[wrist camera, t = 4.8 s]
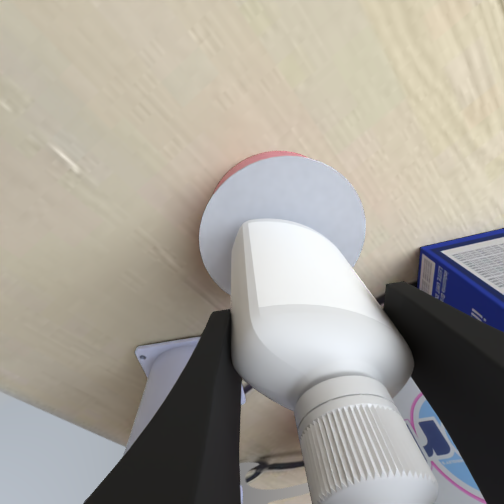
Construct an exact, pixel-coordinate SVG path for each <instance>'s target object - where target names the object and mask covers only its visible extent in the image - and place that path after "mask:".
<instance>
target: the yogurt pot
mask: <svg viewBox="0 0 504 504" xmlns="http://www.w3.org/2000/svg"><path fill="white" fill-rule="evenodd" d="M264 218H270V219H282V220H288V221H293V222H296V223H299V224H302V225H305V226H307V227H309V228H311V229H313V230H315V231H317V232H319V233H320V234H322V235H323V236H325V237H326V238H327V239H328V240H330V241H331V242H332V243H333V244H334V245H335V246H336V247H337V248H338V249H339V251H340V252H341V253H342V255H343V256H344V257H345V259H346V260H347V261H348V263H349V264H350V265H351V267H352V268H353V267H354V265H355V263H356V261H357V259H358V257H359V255H360V253H361V250H362V247H363V243H364V239H365V231H366V221H365V214H364V209H363V206H362V203H361V200H360V198H359V196H358V194H357V192H356V190H355V189H354V188H353V186H352V185H351V184H350V182H349V181H348V180H347V179H346V178H345V177H344V176H343V175H342V174H340V173H339V172H338V171H336V170H335V169H333V168H332V167H330V166H328V165H326V164H324V163H322V162H320V161H317V160H314V159H311V158H307V157H305V156H303V155H300V154H297V153H292V152H287V151H272V152H265V153H261V154H257V155H254V156H252V157H249V158H247V159H245V160H243V161H241V162H240V163H238V164H237V165H236V166H234V167H233V168H232V169H230V170H229V171H228V172H227V173H226V174H225V175H224V177H223V178H222V179H221V181H220V182H219V183H218V185H217V187H216V188H215V190H214V192H213V195H212V197H211V199H210V201H209V202H208V204H207V206H206V208H205V211H204V213H203V216H202V220H201V224H200V230H199V248H200V253H201V257H202V260H203V263H204V266H205V267H206V269H207V271H208V273H209V275H210V276H211V277H212V279H213V280H214V282H215V283H216V284H217V285H218V286H219V287H220V288H221V289H222V290H224V291H225V292H226V293H227V294H229V295H230V296H231V252H232V248H233V244H234V241H235V239H236V236H237V233H238V230H239V228H240V227H241V225H242V224H243V223H244V222H246V221H248V220H252V219H264Z"/></svg>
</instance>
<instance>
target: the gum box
mask: <svg viewBox="0 0 504 504" xmlns="http://www.w3.org/2000/svg"><path fill="white" fill-rule="evenodd" d="M392 400H393V401H394V403H395V405H396V407H397V409H398V411H399V412H400V414H401V416H402V418H403V420H404V422H405V423H406V425H407V427H408V429H409V431H410V433H411V434H412V436H413V438H414V440H415V442H416V444H417V445H418V447H419V449H420V451H421V453H422V454H423V456H424V458H425V460H426V462H427V464H428V465H429V467H430V469H431V471H432V473H433V475H434V476H435V478H436V480H437V483H438V495H437V498H436V500H435V502H434V503H433V504H487V503H486V501H485V499H484V497H483V496H482V494H481V492H480V490H479V488H478V486H477V484H476V482H475V481H474V479H473V477H472V475H471V473H470V471H469V469H468V468H467V466H466V464H465V462H464V460H463V459H462V457H461V455H460V453H459V451H458V450H457V448H456V446H455V444H454V443H453V441H452V439H451V437H450V435H449V434H448V432H447V430H446V429H445V427H444V426H443V424H442V422H441V421H440V419H439V418H438V416H437V415H436V413H435V412H434V410H433V409H432V407H431V406H430V404H429V403H428V401H427V400H426V398H425V397H424V395H423V394H422V392H421V391H420V390H419V388H418V387H417V385H416V384H415V382H414V381H413V379H412V378H411V377H410V379H409V380H408V382H407V383H406V385H405V386H404V387H403V388H402V389H401V391H400V392H399V393H398V394H397V395H396V396H395V397H394V398H392Z"/></svg>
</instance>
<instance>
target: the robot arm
mask: <svg viewBox="0 0 504 504" xmlns="http://www.w3.org/2000/svg"><path fill="white" fill-rule="evenodd" d="M384 311H385V313H386V314H387V315H388V317H389V318H390V320H391V321H392V322H393V324H394V325H395V327H396V328H397V330H398V331H399V332H400V334H401V335H402V337H403V338H404V340H405V341H406V343H407V344H408V346H409V348H410V350H411V352H412V356H413V359H414V369H413V372H412V374H411V378H412V379H413V381H414V382H415V384H416V385H417V387H418V388H419V390H420V391H421V392H422V394H423V395H424V397H425V398H426V400H427V401H428V403H429V404H430V406H431V407H432V409H433V410H434V412H435V413H436V415H437V416H438V418H439V419H440V421H441V422H442V424H443V426H444V427H445V429H446V430H447V432H448V434H449V435H450V437H451V439H452V441H453V443H454V444H455V446H456V448H457V450H458V451H459V453H460V455H461V457H462V459H463V460H464V462H465V464H466V466H467V468H468V469H469V471H470V473H471V475H472V477H473V479H474V481H475V482H476V484H477V486H478V488H479V490H480V492H481V494H482V496H483V497H484V499H485V501H486V503H487V504H504V332H502V331H500V330H498V329H496V328H494V327H492V326H490V325H488V324H486V323H484V322H482V321H479V320H477V319H475V318H473V317H471V316H470V315H468V314H466V313H464V312H462V311H460V310H458V309H456V308H454V307H452V306H450V305H448V304H446V303H444V302H443V301H441V300H439V299H437V298H435V297H433V296H431V295H429V294H428V293H426V292H424V291H422V290H420V289H418V288H416V287H414V286H412V285H410V284H408V283H406V282H404V281H403V282H396V283H390V284H386V291H385V301H384ZM135 355H136V357H137V359H138V361H139V362H140V364H141V366H142V368H143V370H144V372H145V374H146V376H147V378H148V380H147V383H146V386H145V390H144V393H143V396H142V399H141V402H140V405H139V408H138V412H137V415H136V418H135V421H134V424H133V427H132V430H131V434H130V437H129V440H128V443H127V446H126V449H125V452H124V456H123V457H122V459H121V460H120V461H119V462H118V464H117V465H116V466H115V467H114V468H113V470H112V471H111V472H110V473H109V474H108V475H107V477H106V478H105V479H104V480H103V481H102V482H101V484H100V485H99V486H98V487H97V488H96V489H95V491H94V492H93V493H92V494H91V495H90V496H89V497H88V498H87V499H86V500H85V501H84V504H243V490H242V486H241V485H240V469H239V439H240V412H241V405H242V404H244V403H245V402H246V397H245V394H244V390H243V386H242V378H241V376H240V375H239V374H238V372H237V371H236V370H235V368H234V366H233V364H232V358H231V312H230V309H228V310H222V311H215V312H213V313H212V314H211V315H210V318H209V320H208V322H207V325H206V327H205V329H204V331H203V333H202V335H201V336H199V337H193V338H187V339H180V340H174V341H168V342H162V343H155V344H149V345H143V346H138V347H137V348H136V350H135ZM143 355H144V356H143Z"/></svg>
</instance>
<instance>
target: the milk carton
mask: <svg viewBox="0 0 504 504" xmlns="http://www.w3.org/2000/svg"><path fill="white" fill-rule="evenodd" d="M417 288H418V289H420V290H422V291H424V292H426V293H428V294H429V295H431V296H433V297H435V298H437V299H439V300H441V301H443V302H444V303H446V304H448V305H450V306H452V307H454V308H456V309H458V310H460V311H462V312H464V313H466V314H468V315H470V316H471V317H473V318H475V319H477V320H479V321H482V322H484V323H486V324H488V325H490V326H492V327H494V328H496V329H498V330H500V331H502V332H504V228H503V229H499V230H494V231H490V232H485V233H481V234H477V235H472V236H468V237H463V238H459V239H454V240H450V241H446V242H441V243H437V244H432V245H428V246H424V247H420V258H419V270H418V282H417Z"/></svg>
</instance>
